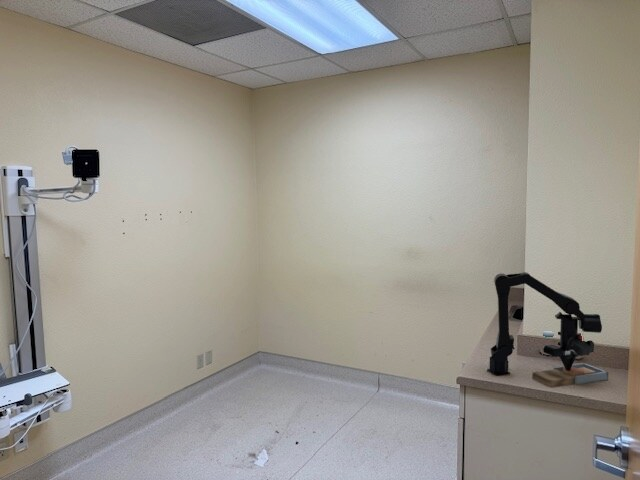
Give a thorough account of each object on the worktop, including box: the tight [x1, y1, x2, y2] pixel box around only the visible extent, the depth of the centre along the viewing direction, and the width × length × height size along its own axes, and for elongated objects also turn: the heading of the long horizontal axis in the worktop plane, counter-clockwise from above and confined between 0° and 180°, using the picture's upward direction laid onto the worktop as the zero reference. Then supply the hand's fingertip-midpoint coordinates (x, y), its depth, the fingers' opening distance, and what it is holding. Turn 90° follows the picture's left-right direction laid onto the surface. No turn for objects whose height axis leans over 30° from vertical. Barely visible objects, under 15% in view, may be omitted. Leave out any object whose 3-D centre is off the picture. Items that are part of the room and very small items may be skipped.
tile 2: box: [577, 367, 595, 375], centre depth 171 cm, size 5×5×2 cm
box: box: [553, 362, 609, 386], centre depth 171 cm, size 15×11×3 cm
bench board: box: [532, 368, 576, 388], centre depth 167 cm, size 11×9×2 cm
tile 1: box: [562, 365, 584, 377], centre depth 170 cm, size 5×5×2 cm
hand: (567, 370), depth 169 cm, fingers closed
